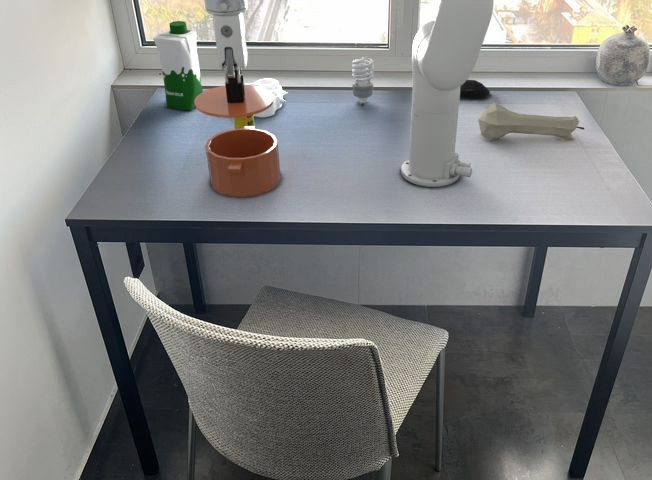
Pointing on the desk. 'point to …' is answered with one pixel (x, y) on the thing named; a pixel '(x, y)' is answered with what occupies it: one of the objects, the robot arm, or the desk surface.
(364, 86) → the light bulb
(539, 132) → the faceted club
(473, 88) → the gaming mouse
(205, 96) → the pot lid
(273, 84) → the white muffin tray
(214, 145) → the pot
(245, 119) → the supplement bottle
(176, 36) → the milk carton
